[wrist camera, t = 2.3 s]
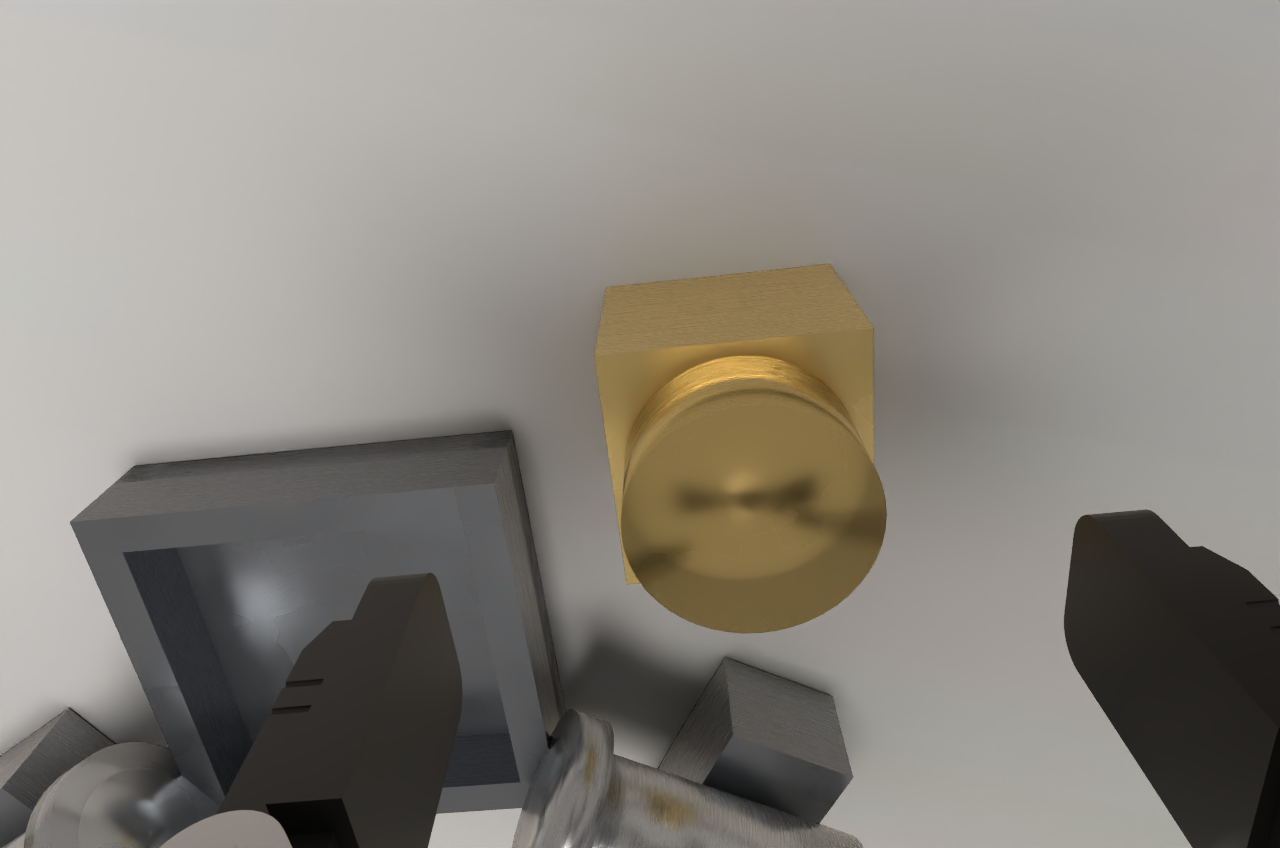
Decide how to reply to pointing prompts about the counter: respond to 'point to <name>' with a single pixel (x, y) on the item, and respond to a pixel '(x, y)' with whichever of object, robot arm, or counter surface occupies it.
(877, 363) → the counter surface
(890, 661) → the counter surface
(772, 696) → the shaft right
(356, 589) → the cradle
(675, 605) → the gold square-based knob
